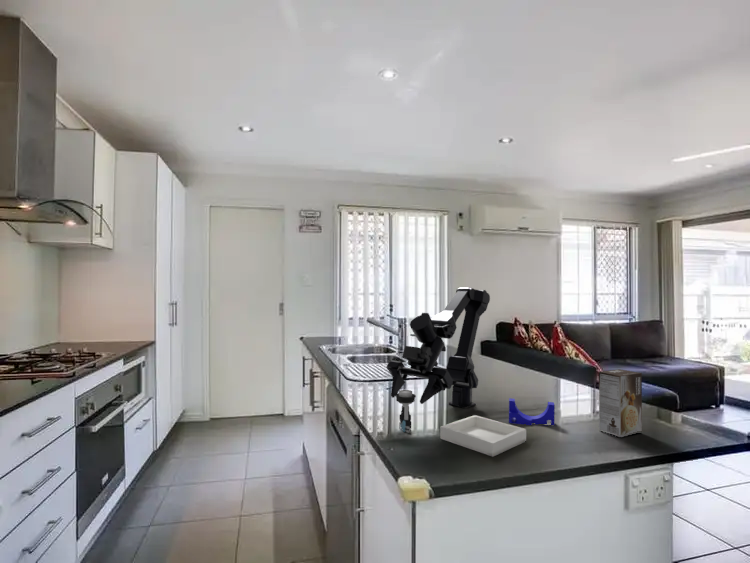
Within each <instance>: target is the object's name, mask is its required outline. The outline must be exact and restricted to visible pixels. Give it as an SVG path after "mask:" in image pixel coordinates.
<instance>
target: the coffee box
mask: <svg viewBox="0 0 750 563" xmlns="http://www.w3.org/2000/svg"><path fill="white" fill-rule="evenodd" d="M642 375H643V373H642V372H637V371H632V370H625V369H618V368H617V369H610V370H603V371H599V372H598V430H599V429H600V430H603V431H607V432H610V433H614V434H617V435H625V434H629V433H633V432H637V431H642V432H643V429H642V428H643V422H642V421H643V418H642V417H643V415H642V414H643V411H642V410H643V408H642V407H643V399H642V398H643V397H642V396H643V395H642V394H643V391H642V390H643V388H642V387H643V378H642Z"/></svg>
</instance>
